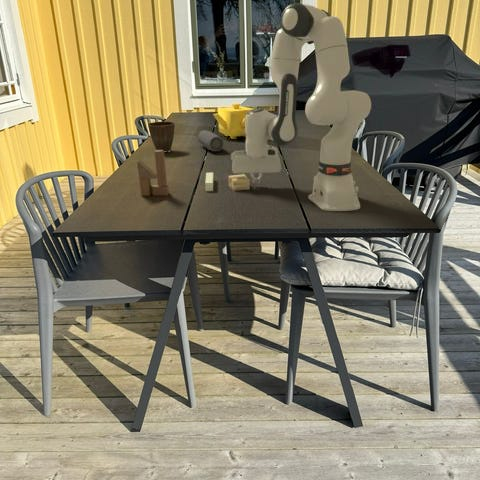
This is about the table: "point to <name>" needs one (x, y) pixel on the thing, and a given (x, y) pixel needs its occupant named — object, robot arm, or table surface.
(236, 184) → the oak block
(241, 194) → the table surface
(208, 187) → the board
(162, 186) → the wooden block
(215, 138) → the bluetooth speaker
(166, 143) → the plant pot
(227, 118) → the cube teapot
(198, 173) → the table surface
